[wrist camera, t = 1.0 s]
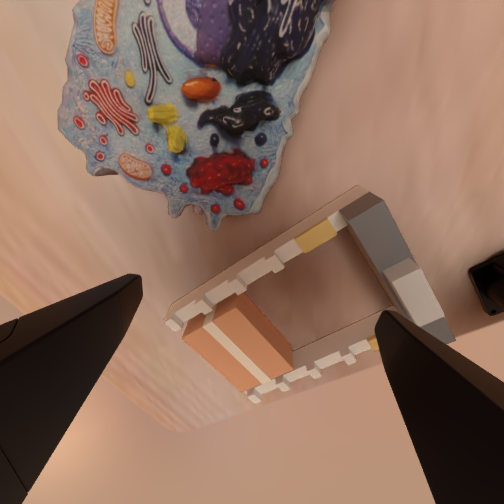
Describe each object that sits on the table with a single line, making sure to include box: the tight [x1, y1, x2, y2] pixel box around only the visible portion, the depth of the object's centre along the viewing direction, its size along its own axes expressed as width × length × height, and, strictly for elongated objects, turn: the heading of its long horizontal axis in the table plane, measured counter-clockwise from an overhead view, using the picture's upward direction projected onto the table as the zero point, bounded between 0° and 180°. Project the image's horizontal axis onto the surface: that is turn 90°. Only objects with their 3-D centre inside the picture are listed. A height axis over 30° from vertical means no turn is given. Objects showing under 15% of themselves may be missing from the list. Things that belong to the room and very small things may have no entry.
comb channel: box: [163, 185, 456, 404], centre depth 23 cm, size 15×22×6 cm
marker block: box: [182, 292, 294, 392], centre depth 27 cm, size 10×7×4 cm
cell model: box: [58, 0, 336, 231], centre depth 13 cm, size 13×11×20 cm
